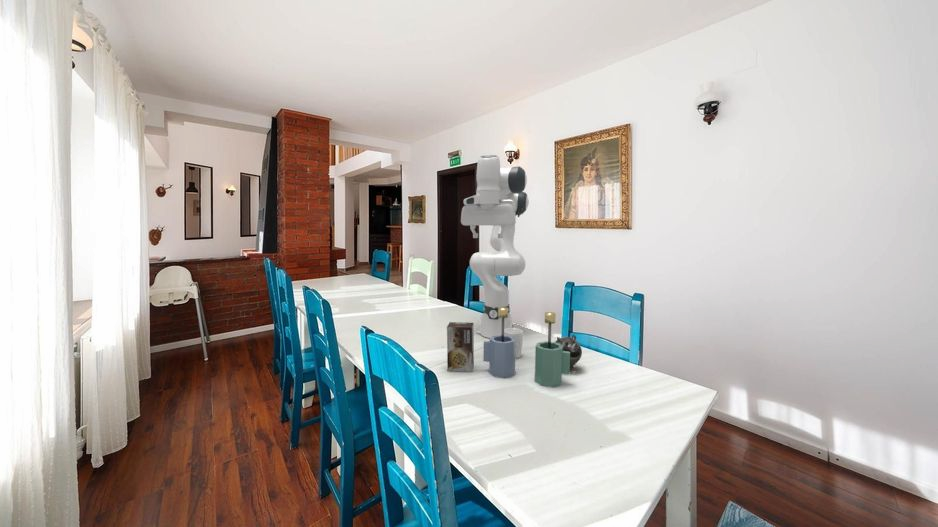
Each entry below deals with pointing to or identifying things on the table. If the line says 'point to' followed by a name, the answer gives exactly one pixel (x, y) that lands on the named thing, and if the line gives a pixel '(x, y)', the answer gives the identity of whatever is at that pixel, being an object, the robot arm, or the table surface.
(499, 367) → the blue pot
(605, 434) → the table surface
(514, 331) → the white cup
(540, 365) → the green mug
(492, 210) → the robot arm
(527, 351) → the table surface
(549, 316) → the shiny brass cylinder
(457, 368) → the coffee box
